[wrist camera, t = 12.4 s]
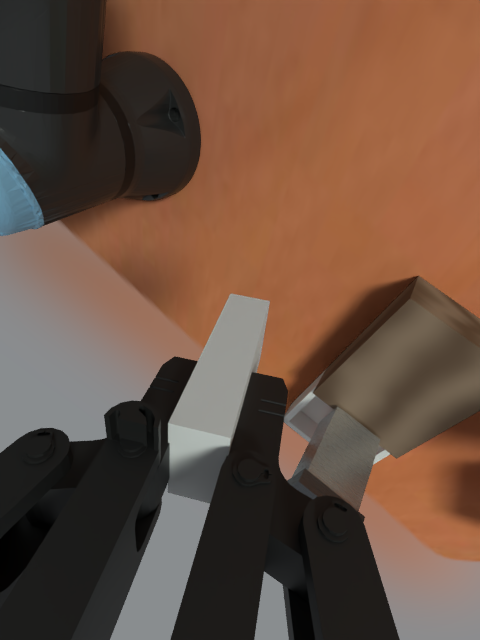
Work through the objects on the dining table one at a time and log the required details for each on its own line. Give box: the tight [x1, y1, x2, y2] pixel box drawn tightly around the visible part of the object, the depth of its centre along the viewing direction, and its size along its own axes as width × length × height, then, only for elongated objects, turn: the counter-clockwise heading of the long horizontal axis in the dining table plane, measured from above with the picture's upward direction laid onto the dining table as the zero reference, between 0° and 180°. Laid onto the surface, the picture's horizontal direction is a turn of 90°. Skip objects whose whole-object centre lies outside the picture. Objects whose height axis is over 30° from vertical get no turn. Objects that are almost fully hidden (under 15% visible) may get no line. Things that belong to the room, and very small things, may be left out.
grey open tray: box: [284, 369, 390, 464], centre depth 50 cm, size 12×10×4 cm
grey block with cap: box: [287, 406, 381, 522], centre depth 41 cm, size 7×5×12 cm
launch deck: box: [313, 276, 480, 459], centre depth 41 cm, size 12×17×5 cm
